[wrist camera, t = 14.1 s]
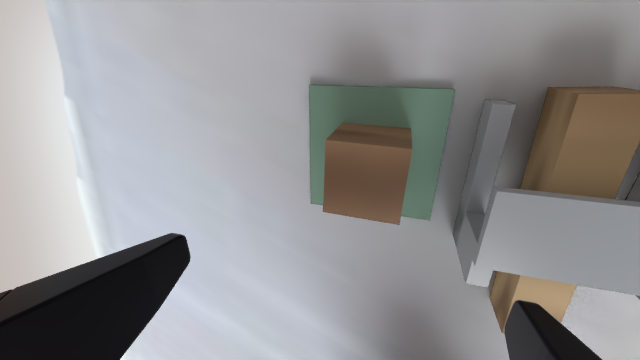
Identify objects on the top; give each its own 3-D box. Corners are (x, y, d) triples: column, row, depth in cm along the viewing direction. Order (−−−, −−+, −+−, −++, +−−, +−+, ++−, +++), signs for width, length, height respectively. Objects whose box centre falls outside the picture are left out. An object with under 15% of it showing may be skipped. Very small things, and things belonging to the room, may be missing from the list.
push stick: (531, 302, 19) (552, 342, 16) (488, 295, 19) (501, 332, 17) (609, 86, 13) (660, 93, 11) (545, 86, 14) (578, 94, 11)
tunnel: (618, 258, 16) (699, 336, 11) (452, 233, 18) (467, 290, 14) (702, 107, 12) (865, 136, 8) (484, 99, 15) (518, 118, 10)
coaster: (429, 217, 18) (429, 220, 18) (312, 200, 20) (310, 203, 20) (453, 88, 15) (454, 89, 14) (311, 84, 17) (309, 85, 16)
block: (400, 190, 17) (399, 224, 14) (338, 182, 18) (322, 211, 15) (411, 128, 16) (412, 149, 12) (342, 122, 17) (325, 139, 13)
